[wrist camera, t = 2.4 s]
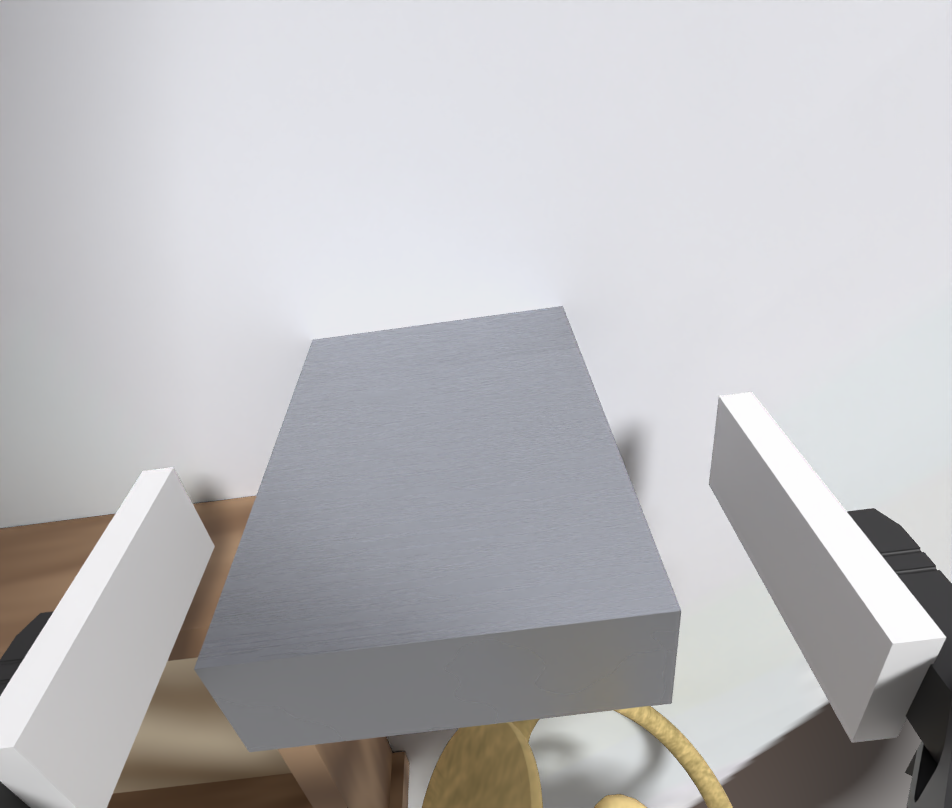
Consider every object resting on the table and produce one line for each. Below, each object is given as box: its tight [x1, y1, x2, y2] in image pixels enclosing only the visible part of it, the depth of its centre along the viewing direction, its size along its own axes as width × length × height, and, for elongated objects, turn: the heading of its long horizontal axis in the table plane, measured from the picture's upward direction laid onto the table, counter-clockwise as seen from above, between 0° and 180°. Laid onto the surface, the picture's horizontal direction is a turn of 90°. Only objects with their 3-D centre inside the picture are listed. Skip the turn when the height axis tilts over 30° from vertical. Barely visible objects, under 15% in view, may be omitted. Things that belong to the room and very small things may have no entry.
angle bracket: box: [194, 306, 681, 752], centre depth 15 cm, size 9×7×10 cm
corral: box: [0, 496, 409, 808], centre depth 23 cm, size 18×16×5 cm
